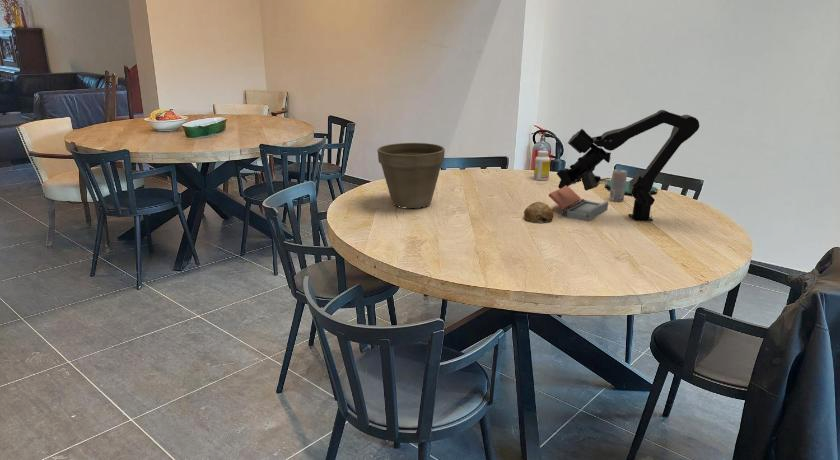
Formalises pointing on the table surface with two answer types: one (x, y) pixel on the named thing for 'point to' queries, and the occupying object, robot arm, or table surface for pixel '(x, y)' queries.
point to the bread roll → (538, 213)
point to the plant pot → (411, 172)
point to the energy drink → (618, 185)
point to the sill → (573, 207)
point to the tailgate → (564, 197)
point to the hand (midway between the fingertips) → (559, 187)
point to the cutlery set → (625, 186)
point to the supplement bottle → (542, 166)
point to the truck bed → (588, 210)
